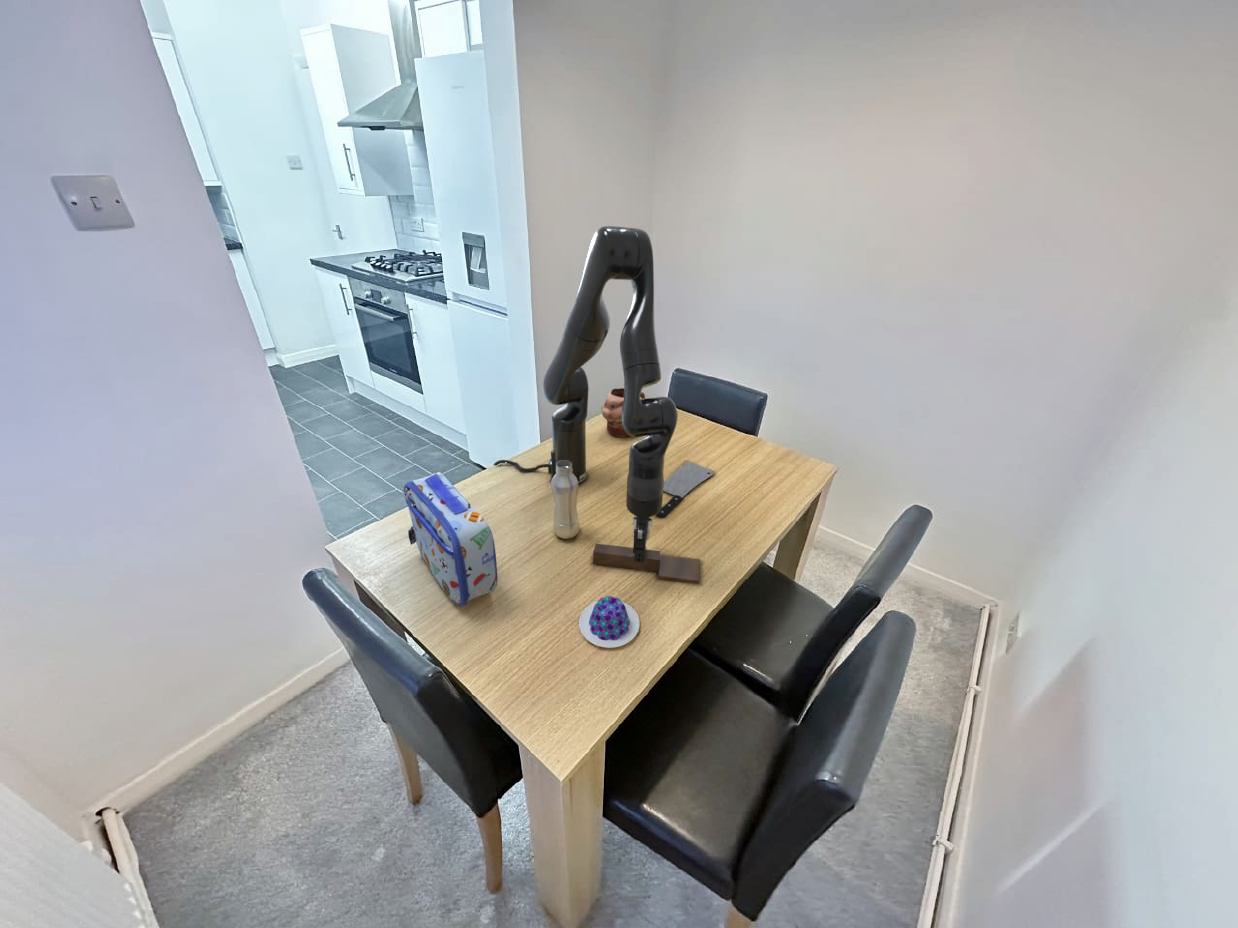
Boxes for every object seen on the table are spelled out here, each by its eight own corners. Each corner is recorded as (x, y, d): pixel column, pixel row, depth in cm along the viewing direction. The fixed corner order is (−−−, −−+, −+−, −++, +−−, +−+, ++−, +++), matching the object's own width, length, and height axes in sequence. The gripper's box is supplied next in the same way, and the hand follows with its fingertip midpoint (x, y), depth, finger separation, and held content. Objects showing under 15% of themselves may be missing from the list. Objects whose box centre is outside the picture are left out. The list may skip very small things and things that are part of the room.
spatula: (591, 569, 110) (591, 557, 108) (597, 549, 116) (597, 537, 114) (698, 583, 108) (700, 571, 106) (698, 561, 114) (700, 549, 112)
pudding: (612, 592, 105) (613, 574, 102) (652, 627, 97) (653, 609, 94) (566, 621, 98) (566, 602, 95) (605, 661, 90) (605, 642, 87)
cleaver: (632, 505, 131) (664, 519, 126) (633, 503, 131) (664, 517, 126) (686, 461, 152) (715, 472, 147) (686, 460, 152) (716, 471, 147)
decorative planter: (627, 414, 179) (628, 379, 172) (654, 424, 173) (657, 387, 166) (592, 434, 166) (592, 396, 158) (621, 445, 159) (622, 406, 152)
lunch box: (407, 549, 114) (386, 470, 103) (449, 531, 120) (434, 454, 109) (461, 621, 97) (444, 535, 85) (507, 596, 103) (497, 512, 91)
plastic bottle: (559, 545, 117) (556, 474, 107) (549, 529, 122) (545, 460, 112) (584, 537, 120) (583, 468, 109) (573, 522, 125) (571, 454, 114)
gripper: (631, 469, 108) (628, 527, 116) (622, 507, 95) (620, 569, 104) (665, 472, 107) (660, 531, 115) (660, 511, 95) (655, 573, 103)
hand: (641, 549), depth 109 cm, fingers open, 8 cm apart
